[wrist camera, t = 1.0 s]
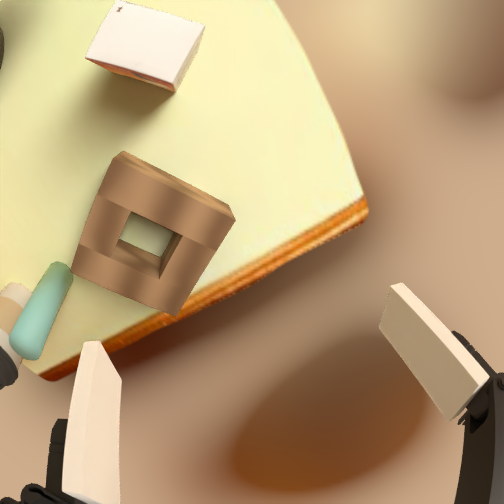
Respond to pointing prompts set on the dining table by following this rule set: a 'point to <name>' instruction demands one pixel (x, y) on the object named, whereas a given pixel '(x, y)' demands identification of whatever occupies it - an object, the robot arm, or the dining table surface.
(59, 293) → the peg
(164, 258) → the socket
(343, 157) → the dining table surface
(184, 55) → the small box
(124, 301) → the dining table surface
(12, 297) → the coffee cup
